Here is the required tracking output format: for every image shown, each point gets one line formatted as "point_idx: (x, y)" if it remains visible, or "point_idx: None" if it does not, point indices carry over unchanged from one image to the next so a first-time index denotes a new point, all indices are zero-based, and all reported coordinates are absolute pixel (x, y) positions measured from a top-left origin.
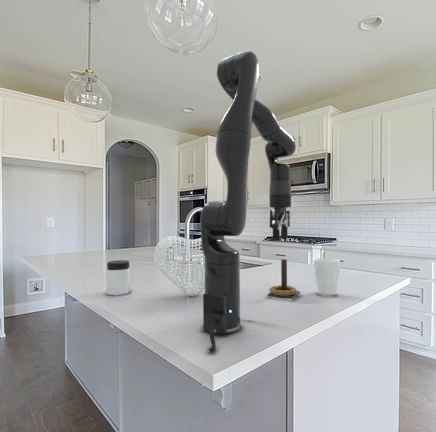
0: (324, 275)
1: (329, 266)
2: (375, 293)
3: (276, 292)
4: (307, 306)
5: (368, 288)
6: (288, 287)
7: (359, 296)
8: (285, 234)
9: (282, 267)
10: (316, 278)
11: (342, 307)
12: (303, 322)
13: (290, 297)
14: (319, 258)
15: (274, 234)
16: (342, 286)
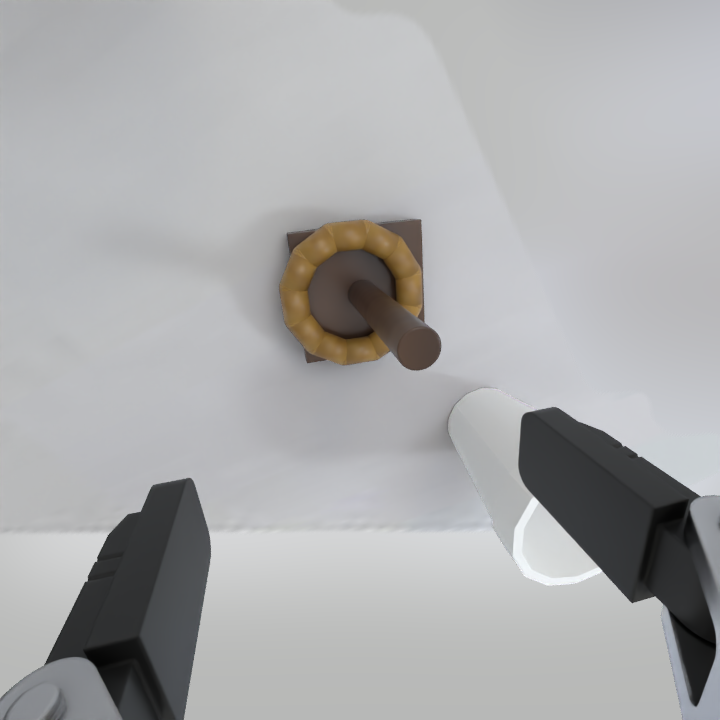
0: (479, 485)
1: (502, 542)
2: None
3: (280, 294)
4: (271, 432)
5: None
6: (401, 305)
7: None
8: (560, 505)
9: (381, 328)
10: (495, 426)
11: (337, 518)
12: (72, 502)
13: (305, 352)
14: None
15: (95, 601)
16: (644, 413)
